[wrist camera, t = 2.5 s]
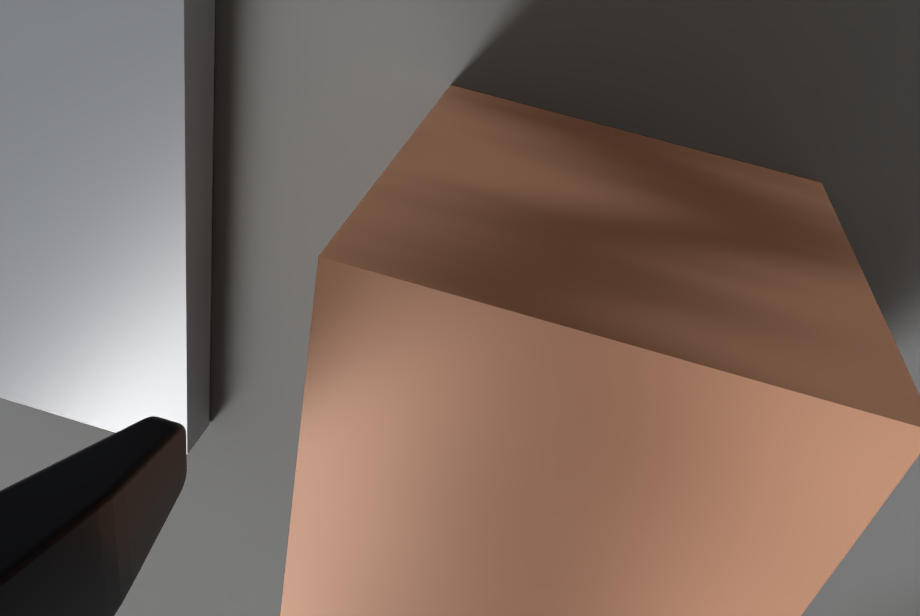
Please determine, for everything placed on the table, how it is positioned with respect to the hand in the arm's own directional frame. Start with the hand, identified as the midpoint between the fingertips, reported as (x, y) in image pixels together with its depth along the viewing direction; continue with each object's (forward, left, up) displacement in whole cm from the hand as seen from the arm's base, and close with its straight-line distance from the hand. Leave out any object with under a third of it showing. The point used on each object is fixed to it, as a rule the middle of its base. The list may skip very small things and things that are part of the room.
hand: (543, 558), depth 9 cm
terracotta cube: (0, 0, -6) cm, 6 cm away
